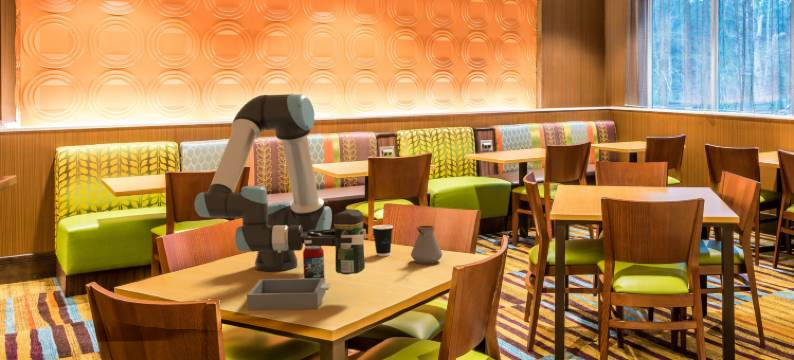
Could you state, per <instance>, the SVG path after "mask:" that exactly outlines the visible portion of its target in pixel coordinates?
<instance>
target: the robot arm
mask: <svg viewBox="0 0 794 360" xmlns="http://www.w3.org/2000/svg"><path fill="white" fill-rule="evenodd" d="M314 125H315V110H314V106H313V104H312V102H311V100H310V99H309V98H308V97H307V95H304V94H296V93H289V94H262V95H258V96H256V97H253V98H252V99H249V101H248V102H246V103H245V104H244V105H243V106H242V107H241V108H240V110H239V111H238V112H237V113H236V115H235V116H234V119H233V121H232V123H231V130H232V131H231V134H230V137H229V139H228V142H227V144H226V147H225V148H224V150H223V153H222V156H221V158H220V160H219V164H218V166H217V169H216V170H215V173H214V176H213V178H212V180H211V183H210V185H209V187H208V190H207V191H203V192H199V193H198V194H197V195H196V197H195V199H194V209H195V212H196V213H197V215H198V216H200V218H201V217H202V218H211V219H212V218H213V219H214V218H227V219H228V218H231V219H234V218H237V219H242V225H241V226H238V227H236V229H235V235H234V239H235V240H234V241H235V246H236V249H237V251H240V252H251V253H253V252H254V253H255V252H257V254H256V257H255V261H254V266H255V267H254V268H255V270H257V271H262V272H263V271H264V272H280V271H281V272H282V271H287V270H292V269H295V268H297V267H298V257H297V255H296V251H298V252H299V251H302V250H303V247H305V246H321V247H336V246H338V248H340V247H341V245H359V244H363V245H364V244H365V243H364V242H365V241H364V240H365V239H366V238H367V233H366V232H367V230H366V229H365V228H363V235H341V236H335V228H332V227H331V226H332V221H333V211H332V209H331V207H330V206H327V205H326V206H325V202H324V199H323V198H322V197H320V196H319V194H318V187H317V183H316V177H315V172H314V166H313V162H312V161H313V160H312V156H311V151H310V145H309V139H308V136H309V135H310V133H311V131H312V129H313V127H314ZM263 131H274V132H275V136H276V139H278V140H279V141H280V142H282V148H283V153H284V158H285V163H286V169H287V173H288V178H289V182H290V183H289V184H290V188H291V193H292V199H293V201H292V203H291V202H290V201H278V202H272V203H268V202H269V199H268V194H267V193H268V192H267V188H266V187H265V186H263V185H246V186H245V185H244V186H243V187H241V188H240V192H236V188H237V186H238V184H239V181H240V179H241V176H242V173H243V171H244V168H245V166H246V162H247V161H248V158H249V155H250V152H251V150H252V148H253V145H254V142H255V140H256V139H258V138H259V137H260V135H261V133H262V132H263Z"/></svg>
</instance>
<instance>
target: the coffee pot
mask: <svg viewBox="0 0 794 360" xmlns="http://www.w3.org/2000/svg"><path fill="white" fill-rule="evenodd" d="M435 227H436V226H434V225H419V226H416V230H415V234H417V237H416V240H415V242H414V245H413V247H412V250H411V253H410V257H411V258H412V259H413V261H415V262H416V263H417V264H421V265H432V264H436V263H438V261H439V260H441V258H442V257H443V252H442V249H441V247H440V245H439V243H438V240H437V238H436V236H435V233H434V229H435ZM417 232H418V233H417Z"/></svg>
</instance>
